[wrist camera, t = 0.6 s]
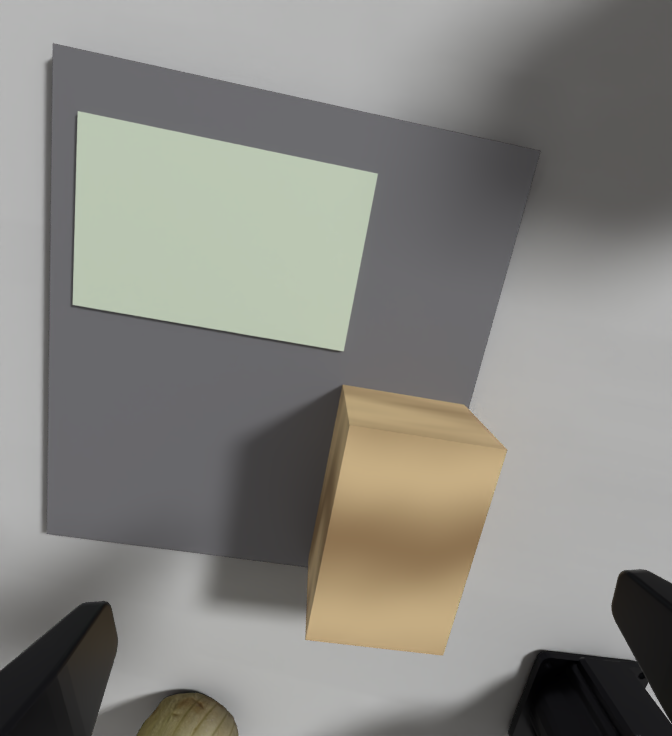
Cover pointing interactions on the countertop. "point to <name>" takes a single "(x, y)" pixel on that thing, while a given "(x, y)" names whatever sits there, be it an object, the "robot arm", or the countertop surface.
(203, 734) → the fennel bulb
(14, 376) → the countertop surface
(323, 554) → the oak block
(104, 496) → the mat
